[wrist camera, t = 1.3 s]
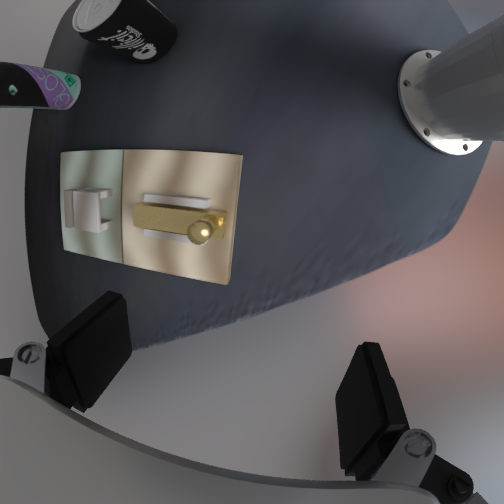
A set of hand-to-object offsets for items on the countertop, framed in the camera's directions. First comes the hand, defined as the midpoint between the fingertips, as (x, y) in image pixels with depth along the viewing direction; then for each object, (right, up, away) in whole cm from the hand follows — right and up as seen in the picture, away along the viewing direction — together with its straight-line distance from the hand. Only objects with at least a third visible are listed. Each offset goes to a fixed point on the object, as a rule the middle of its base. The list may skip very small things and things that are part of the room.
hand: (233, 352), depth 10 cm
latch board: (-13, +9, +21) cm, 27 cm away
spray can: (-25, +26, +17) cm, 40 cm away
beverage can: (-11, +29, +14) cm, 34 cm away
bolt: (-7, +7, +19) cm, 21 cm away
